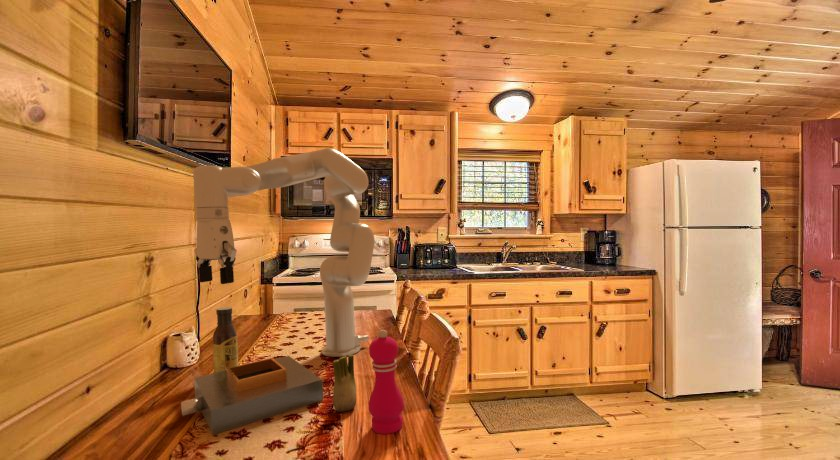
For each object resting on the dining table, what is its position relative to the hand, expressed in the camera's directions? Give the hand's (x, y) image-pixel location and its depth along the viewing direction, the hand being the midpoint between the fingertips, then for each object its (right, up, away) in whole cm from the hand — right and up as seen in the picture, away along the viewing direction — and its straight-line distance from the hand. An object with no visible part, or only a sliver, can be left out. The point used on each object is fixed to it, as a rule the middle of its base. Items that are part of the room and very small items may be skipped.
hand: (216, 282), depth 104 cm
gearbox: (+10, -28, -5) cm, 30 cm away
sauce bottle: (-2, -29, +11) cm, 31 cm away
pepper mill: (+45, -27, -20) cm, 56 cm away
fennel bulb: (+35, -28, -11) cm, 46 cm away
